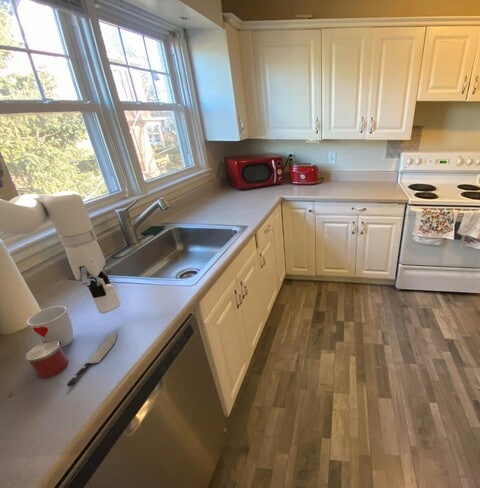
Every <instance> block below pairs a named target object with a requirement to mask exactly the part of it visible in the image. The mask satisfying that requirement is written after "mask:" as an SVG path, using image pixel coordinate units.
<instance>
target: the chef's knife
mask: <svg viewBox="0 0 480 488" xmlns="http://www.w3.org/2000/svg"><path fill="white" fill-rule="evenodd" d="M116 338H117V332H116V331H114V332H112V334H111V335H110V336H109V337H108V338H107V339H106V340H105V342H103V343H102V344H101V346H100V347H99V348H97V350H96V351H95V352H94V353H93V354H92V356H91V357H90V358H89V359H88V360H87V361H86V362H85V363H84V364H83V366H82V367H81V368H80V369H79V370H78V371H77V372H76V373H75V374H74V376H73V377H72V378H71V379H69V380H68V382H67V384H66V387H71V386H73V385H74V384H75V383H76V381H77V379H79V377H80V376H81V375H82V374H83V372H85V371H86V369H88V367H89V366H91V365H95V364H99V363H100V362H101V360H102V359H103V358H104V357H105V356H106V355H107V353H108V352H109V351H110V349H111V348H112V347H113V345H114V344H115V341H116Z"/></svg>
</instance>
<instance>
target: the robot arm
mask: <svg viewBox="0 0 480 488" xmlns="http://www.w3.org/2000/svg"><path fill="white" fill-rule="evenodd" d="M47 221H51V222H52V225H53V227H54V229H55V231H56V233H57V236H58V238H59V240H60V243H61V244H62V246H63V248H65V253H66V257H67V260H68V263H69V267H70V268H71V271H72V274H73V276H74V279H75V280H76V281H81V284H82V286H86V287H87V288H88V290H89V292H91V294H92V296H93V298H97V297H102V296H106V292H105V290H104V287H103V285H102V284H100V281H99V278H102V279H103V281H104V283H105V284H111V281H110V279H109V277H108V274H107V270H106V269H105V265H106V258H105V255H104V253H103V250H102V249H101V246H100V244H99V242H98V241H97V240H98V236H97V233H96V231H95V228H94V225H93V223H92V220H91V219H90V216H89V213H88V211H87V207H86V206H85V203H84V201H83V198H82V196H81V195H80V194H79V193H78V192H76V191H72V190H70V191H57V192H53V193H42V194H40V193H39V194H38V193H27V194H25V193H24V194H20V195H17V196H14V197H13V198H11V199H10V200H5V199H2V198H0V233H4V234H9V235H16V236H17V235H18V236H19V235H28V234H31V233H34V232H35V231H36V230H38V229H39V228H40V227H41V226H42V224H44V223H45V222H47ZM98 277H99V278H98ZM93 279H94V280H95V281H94V280H93ZM91 294H90V295H91ZM92 296H91V297H92ZM93 298H92V299H93Z"/></svg>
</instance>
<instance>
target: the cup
mask: <svg viewBox="0 0 480 488" xmlns="http://www.w3.org/2000/svg"><path fill="white" fill-rule="evenodd" d="M26 324H27V325H28V327H29V328H30V329H31V331H32V332H33V333H34V335H35V336H36V337H37V339H39V340H40V341H41V342H42V343H45V342H48V341H57V342H59V344H60V347H61V348H64V347H66V346H68V345H69V344H70V343H72V342H73V340H74V328H73V323H72V318H71V317H70V314H69V312H68V309H67V307H66V306H64V305H55V306H50V307H46V308H44V309H42V310H39V311H37V312H35V313H34V314H32V315H31V316H29V318H28V319H27V320H26Z"/></svg>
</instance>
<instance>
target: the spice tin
mask: <svg viewBox="0 0 480 488" xmlns="http://www.w3.org/2000/svg"><path fill="white" fill-rule="evenodd" d="M25 360H27V361H28V362H29V365H31V367H32V369H33V370H34V372H35V373H36V374H37V376H38V378H40V379H49V378H52V377H54V376H56V375H58V374H60V373H62V372H63V371H64V370H65V369H66V368H67V367H68V366H69V359H68V357H67V356H66V354H65V353H64V351H63V348H62V347H60V344H59V342H57V341H48V342H45V343H43V342H42V343H40V344H38V345H35V346H34V347H32V348H31V349H30V350H29V351H28V352H27V353H26V355H25Z"/></svg>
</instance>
